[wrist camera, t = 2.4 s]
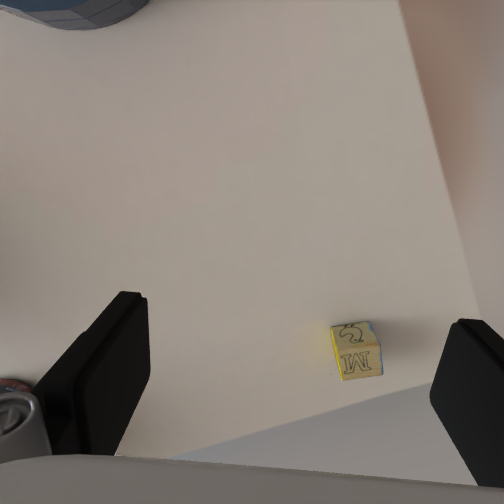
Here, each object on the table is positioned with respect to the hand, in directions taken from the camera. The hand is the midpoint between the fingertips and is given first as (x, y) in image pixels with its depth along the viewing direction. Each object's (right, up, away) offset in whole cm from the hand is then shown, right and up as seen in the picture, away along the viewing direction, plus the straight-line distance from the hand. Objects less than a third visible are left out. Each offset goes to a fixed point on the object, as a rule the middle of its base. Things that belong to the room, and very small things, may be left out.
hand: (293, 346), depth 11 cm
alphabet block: (+7, -4, +17) cm, 19 cm away
